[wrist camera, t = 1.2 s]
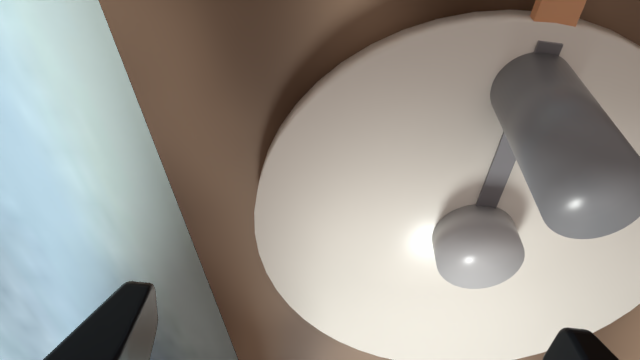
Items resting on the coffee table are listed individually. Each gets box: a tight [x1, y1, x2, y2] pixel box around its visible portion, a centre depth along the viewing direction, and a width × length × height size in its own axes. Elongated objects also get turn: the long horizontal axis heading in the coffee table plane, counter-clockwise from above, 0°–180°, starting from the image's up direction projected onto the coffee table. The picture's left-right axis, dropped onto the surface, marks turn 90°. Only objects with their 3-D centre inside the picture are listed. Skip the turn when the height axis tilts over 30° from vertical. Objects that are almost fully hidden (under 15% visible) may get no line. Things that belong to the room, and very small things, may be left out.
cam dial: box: [254, 0, 640, 360], centre depth 18 cm, size 18×16×6 cm
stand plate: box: [99, 0, 640, 360], centre depth 20 cm, size 22×22×4 cm
